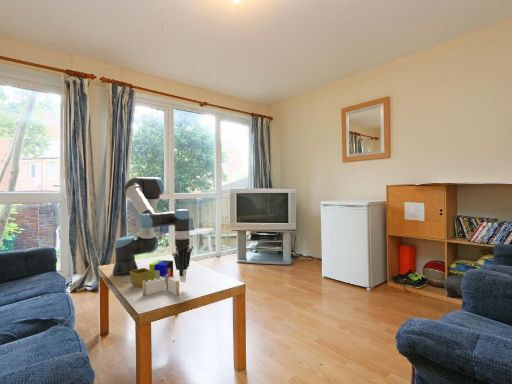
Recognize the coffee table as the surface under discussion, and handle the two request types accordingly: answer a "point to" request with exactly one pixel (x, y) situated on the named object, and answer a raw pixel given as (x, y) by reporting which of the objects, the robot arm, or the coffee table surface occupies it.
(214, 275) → the coffee table surface
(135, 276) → the flower pot
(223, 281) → the coffee table surface
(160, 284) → the fence fixed
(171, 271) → the puzzle toy
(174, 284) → the fence wing
